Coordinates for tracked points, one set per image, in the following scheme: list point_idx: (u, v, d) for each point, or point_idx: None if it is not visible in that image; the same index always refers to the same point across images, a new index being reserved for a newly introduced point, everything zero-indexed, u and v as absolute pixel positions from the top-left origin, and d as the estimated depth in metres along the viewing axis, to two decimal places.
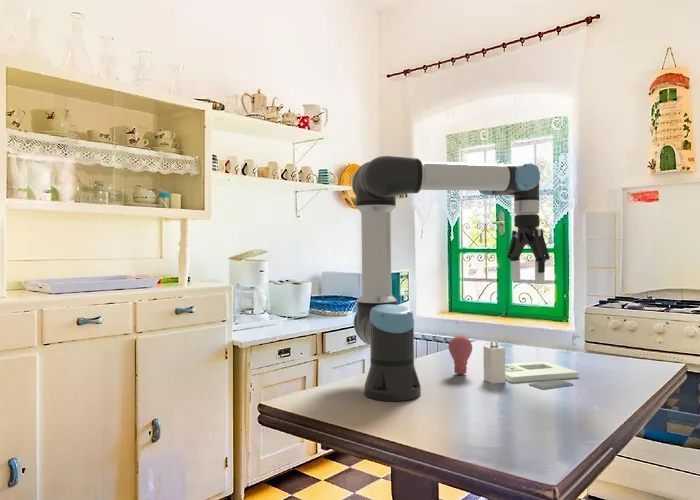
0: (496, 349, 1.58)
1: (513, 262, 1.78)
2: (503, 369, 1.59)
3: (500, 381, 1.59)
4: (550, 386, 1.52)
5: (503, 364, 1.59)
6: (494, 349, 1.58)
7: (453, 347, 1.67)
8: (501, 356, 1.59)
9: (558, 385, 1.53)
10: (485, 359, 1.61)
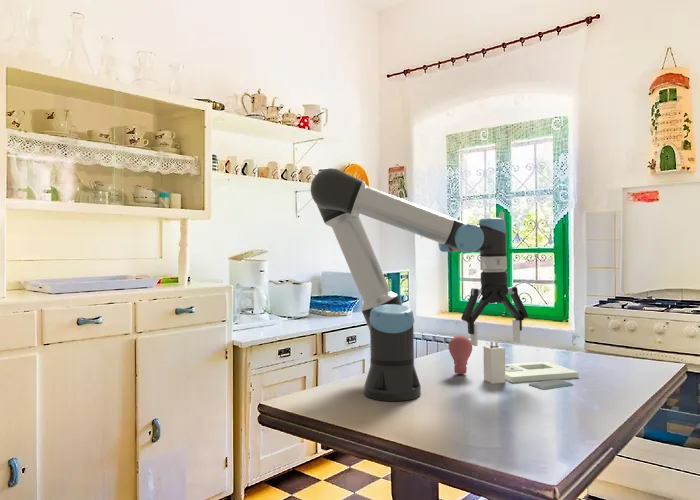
0: (496, 349, 1.58)
1: (513, 321, 1.63)
2: (503, 369, 1.59)
3: (500, 381, 1.59)
4: (550, 386, 1.52)
5: (503, 364, 1.59)
6: (494, 349, 1.58)
7: (453, 347, 1.67)
8: (501, 356, 1.59)
9: (558, 385, 1.53)
10: (485, 359, 1.61)
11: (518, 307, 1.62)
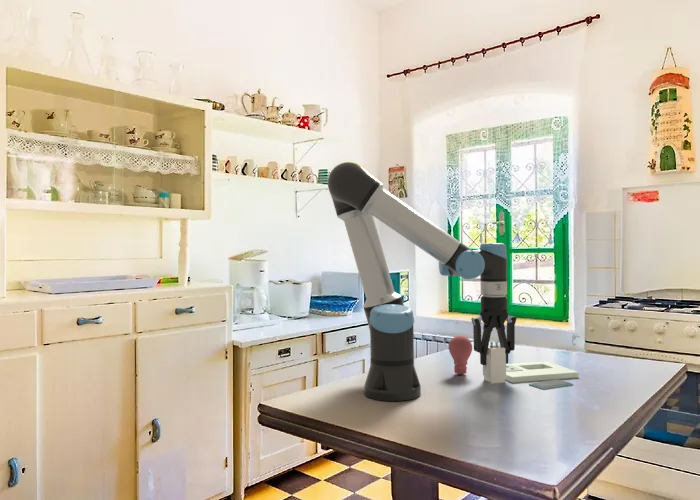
0: (496, 349, 1.58)
1: None
2: (503, 369, 1.59)
3: (500, 381, 1.59)
4: (550, 386, 1.52)
5: (503, 364, 1.59)
6: (494, 349, 1.58)
7: (453, 347, 1.67)
8: (501, 356, 1.59)
9: (558, 385, 1.53)
10: None
11: (509, 337, 1.62)
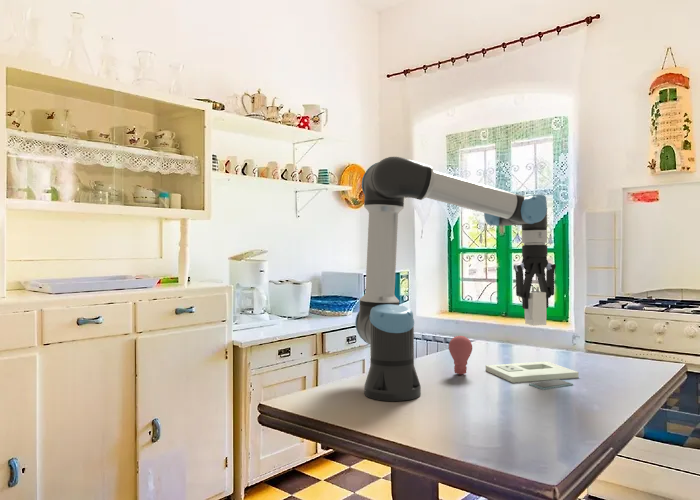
0: (538, 293, 1.69)
1: None
2: (544, 312, 1.70)
3: (541, 323, 1.69)
4: (550, 386, 1.52)
5: (544, 307, 1.70)
6: (536, 293, 1.69)
7: (453, 347, 1.67)
8: (542, 300, 1.69)
9: (558, 385, 1.53)
10: None
11: (548, 284, 1.72)
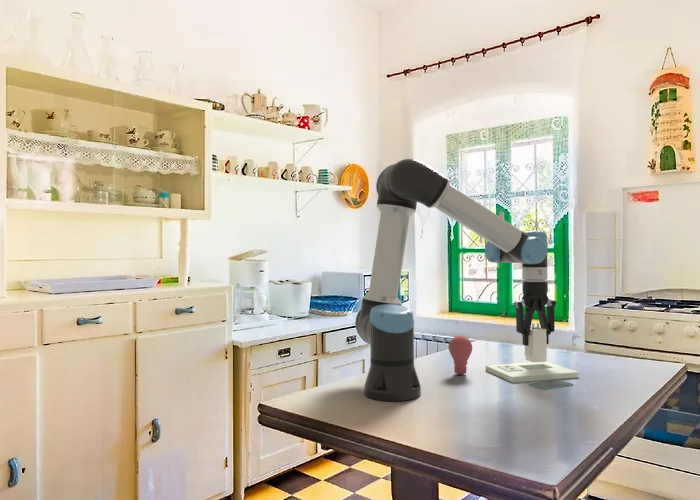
0: (538, 330, 1.69)
1: None
2: (544, 349, 1.70)
3: (542, 360, 1.70)
4: (550, 386, 1.52)
5: (544, 344, 1.70)
6: (536, 330, 1.69)
7: (453, 347, 1.67)
8: (542, 337, 1.70)
9: (558, 385, 1.53)
10: None
11: (549, 320, 1.73)
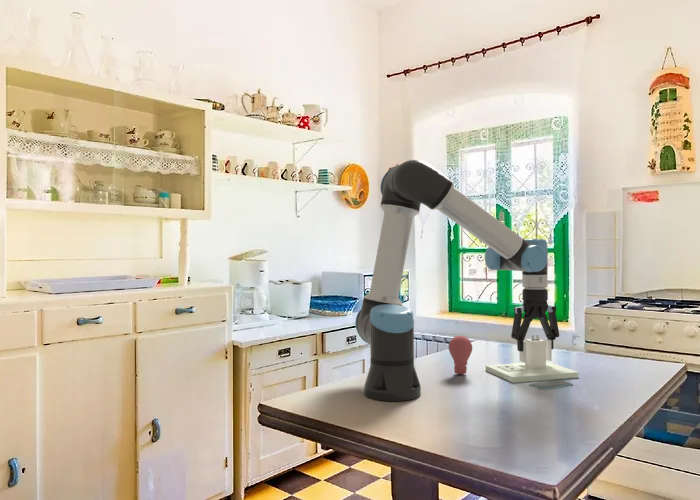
0: (537, 342, 1.69)
1: (545, 340, 1.74)
2: (544, 360, 1.70)
3: None
4: (550, 386, 1.52)
5: (544, 356, 1.70)
6: (536, 342, 1.69)
7: (453, 347, 1.67)
8: (542, 348, 1.70)
9: (558, 385, 1.53)
10: (527, 351, 1.72)
11: (552, 326, 1.73)
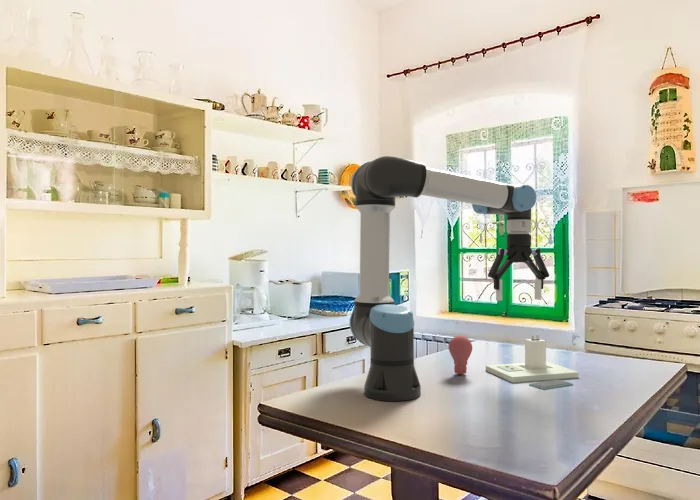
0: (537, 342, 1.69)
1: (535, 280, 1.78)
2: (544, 360, 1.70)
3: None
4: (550, 386, 1.52)
5: (544, 356, 1.70)
6: (536, 342, 1.69)
7: (453, 347, 1.67)
8: (542, 348, 1.70)
9: (558, 385, 1.53)
10: (527, 351, 1.72)
11: (540, 267, 1.77)
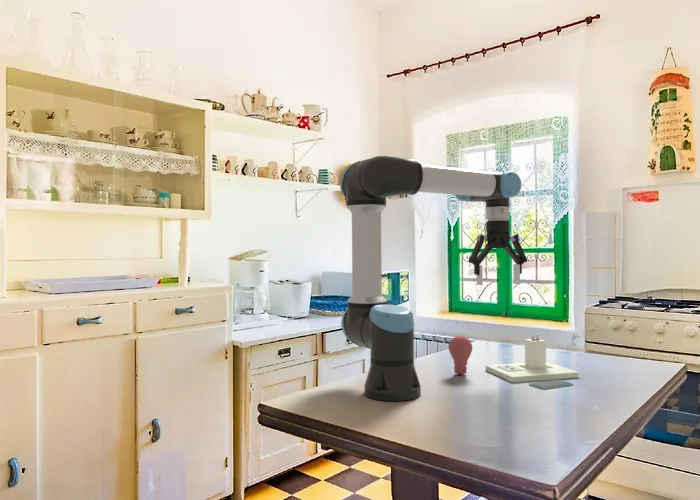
0: (537, 342, 1.69)
1: (514, 265, 1.84)
2: (544, 360, 1.70)
3: None
4: (550, 386, 1.52)
5: (544, 356, 1.70)
6: (536, 342, 1.69)
7: (453, 347, 1.67)
8: (542, 348, 1.70)
9: (558, 385, 1.53)
10: (527, 351, 1.72)
11: (519, 253, 1.83)
